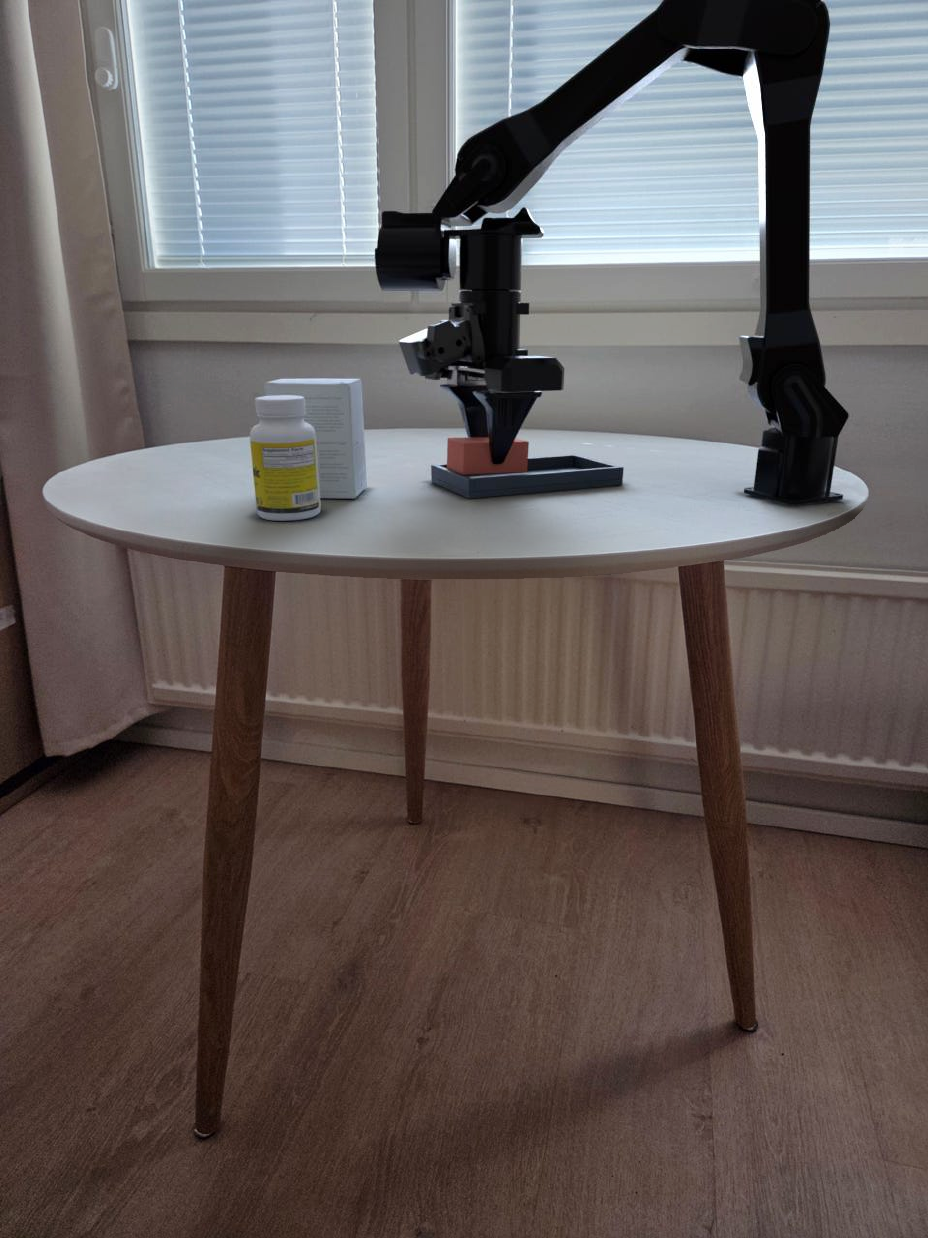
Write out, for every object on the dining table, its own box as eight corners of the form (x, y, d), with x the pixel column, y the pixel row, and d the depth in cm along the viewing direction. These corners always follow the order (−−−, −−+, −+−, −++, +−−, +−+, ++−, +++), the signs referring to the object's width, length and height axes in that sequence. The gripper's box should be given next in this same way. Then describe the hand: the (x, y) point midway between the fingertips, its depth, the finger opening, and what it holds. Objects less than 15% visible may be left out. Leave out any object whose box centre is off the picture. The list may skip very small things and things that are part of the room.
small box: (368, 488, 83) (364, 377, 80) (355, 500, 78) (350, 382, 74) (288, 486, 84) (281, 377, 80) (271, 498, 79) (262, 381, 75)
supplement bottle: (265, 507, 75) (256, 394, 71) (326, 508, 75) (320, 394, 71) (249, 521, 70) (238, 400, 66) (314, 522, 69) (306, 400, 66)
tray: (574, 470, 93) (575, 454, 93) (622, 484, 85) (623, 467, 85) (431, 482, 86) (430, 464, 86) (468, 498, 79) (468, 479, 78)
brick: (508, 466, 87) (510, 436, 86) (527, 472, 83) (529, 441, 82) (446, 468, 84) (447, 437, 83) (462, 474, 80) (464, 443, 79)
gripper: (374, 292, 83) (379, 452, 88) (450, 286, 67) (450, 482, 72) (477, 293, 87) (475, 446, 92) (571, 289, 71) (563, 473, 76)
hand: (487, 460), depth 83 cm, fingers closed on brick, 4 cm apart
